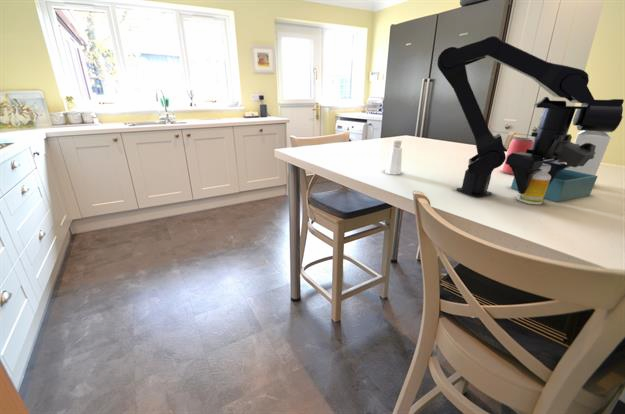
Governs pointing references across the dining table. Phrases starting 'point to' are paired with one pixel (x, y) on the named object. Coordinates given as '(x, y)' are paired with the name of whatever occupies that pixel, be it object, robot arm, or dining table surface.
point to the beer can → (517, 150)
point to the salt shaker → (394, 158)
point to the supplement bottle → (537, 186)
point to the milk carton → (601, 144)
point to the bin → (567, 185)
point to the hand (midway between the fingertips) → (532, 191)
